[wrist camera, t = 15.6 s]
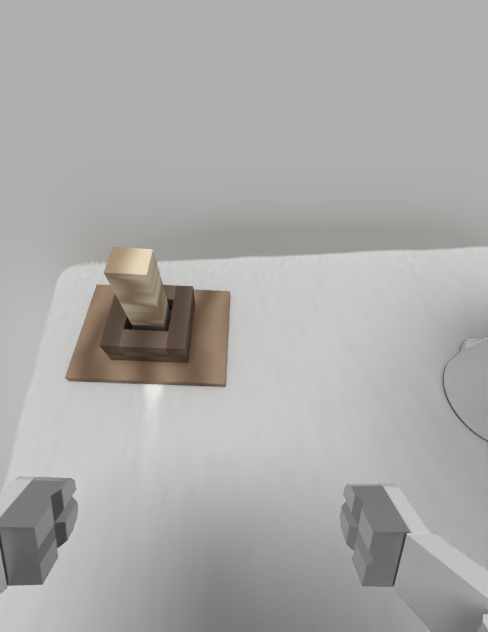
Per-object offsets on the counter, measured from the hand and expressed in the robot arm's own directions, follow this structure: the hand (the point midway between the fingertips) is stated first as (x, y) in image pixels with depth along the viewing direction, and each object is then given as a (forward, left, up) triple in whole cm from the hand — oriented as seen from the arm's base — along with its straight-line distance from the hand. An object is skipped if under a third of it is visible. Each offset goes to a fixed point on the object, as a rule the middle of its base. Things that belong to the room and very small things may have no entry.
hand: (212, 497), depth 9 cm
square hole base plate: (+11, -21, -31) cm, 39 cm away
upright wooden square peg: (+11, -21, -28) cm, 37 cm away
